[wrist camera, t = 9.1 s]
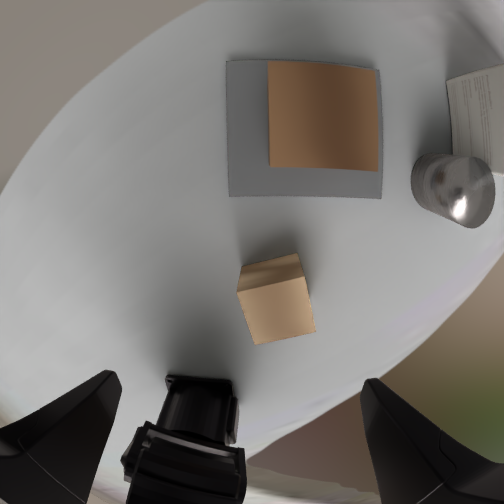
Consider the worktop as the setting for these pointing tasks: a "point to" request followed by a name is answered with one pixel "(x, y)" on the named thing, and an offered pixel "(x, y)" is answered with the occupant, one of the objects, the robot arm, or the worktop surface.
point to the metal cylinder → (454, 187)
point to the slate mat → (257, 147)
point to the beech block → (275, 299)
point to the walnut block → (322, 116)
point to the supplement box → (479, 116)
